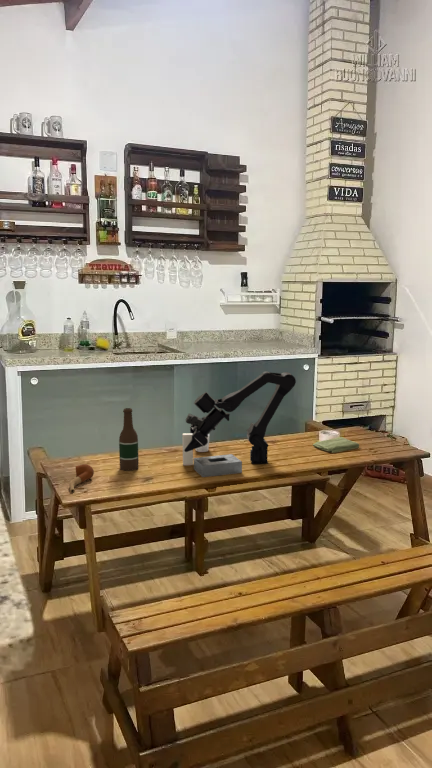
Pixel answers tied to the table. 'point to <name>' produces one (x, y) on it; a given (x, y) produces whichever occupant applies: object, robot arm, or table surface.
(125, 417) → the beer bottle
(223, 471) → the box
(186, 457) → the block
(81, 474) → the smoking pipe
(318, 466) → the table surface
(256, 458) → the robot arm
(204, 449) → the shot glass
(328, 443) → the washcloth
